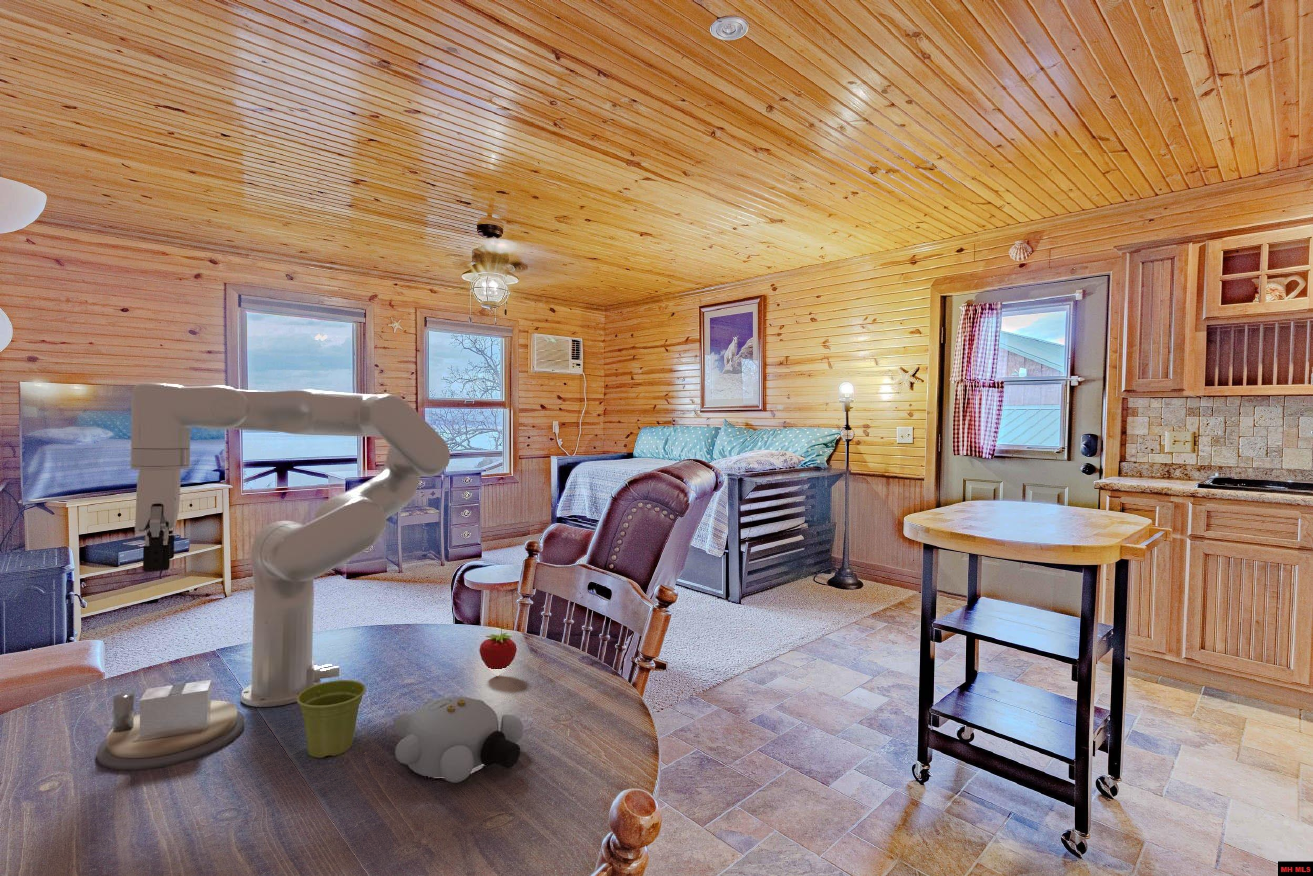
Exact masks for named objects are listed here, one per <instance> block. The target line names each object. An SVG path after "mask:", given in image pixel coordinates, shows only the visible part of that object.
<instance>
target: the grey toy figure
mask: <svg viewBox="0 0 1313 876" xmlns="http://www.w3.org/2000/svg"><path fill="white" fill-rule="evenodd" d="M394 719H395V720H394V721H393V725H392V730H393V732H394V733H395V735H396V736H398V737H400V738H401V740H400V741H399V742H398V743H397V744H396V746H395V748H394V751H395V752H394V754H395V758H396V760H397V761H398V762H400V763H401V764H405V765H407V766H408V768H409V769H410V770H412V771H413V772H414V773H416V774H418V775H420V776H423V777H426V776H428V777H427V778H430V777H444V778H445V779H444V780H445V781H447V782H449V783H460V782H462V781H464V780H466V779H467V778H468V777H469V776H470V775H469V774H470V773H471V771H472V769H473V768H475V767H477V766H479V765H481V764H484V765H486V766H485V767H488V766H489V767H490V766H493V765H494V764H495V765H498V766H500V767H501V768H504V769H507V770H510V769H512V768H514V767H515V766H516V764H517V762H518V760H519V759H520V755H521V746H520V745H519V744H517V743H518V742H519V741H520V740H521V739H522V736H523V732H524V726H523V725H524V724H523V722H522V720H521V719H520V718H519V717H518V716H516V715H513V714H503V715H502V716H501V722H500V730H499V720H498V716H497V713H496V712H495V710H494V709H493V708H492V707H491V706H490V705H488V704H487V703H486V702H485V701H484V700H481V699H476V698H472V697H467V696H458V695H457V696H447V697H441V698H439V699H432V700H428V701H426V702H424V703H423V705H422V706H421V707H419V708H417V709H416V710H415V711H414V712H413V714H411V713H401V714H399V715H398V716H397V717H395V718H394ZM492 764H493V765H492Z"/></svg>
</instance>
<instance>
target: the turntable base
mask: <svg viewBox="0 0 1313 876" xmlns="http://www.w3.org/2000/svg"><path fill="white" fill-rule="evenodd" d="M244 728H245V716H244V714H243V713H242V712H241V711H239V710H237V722H236V724H235V725H234V726H233V727H232V728H231V729H230V730H229V731H228V732H226V733H225V734H223V735H222V736H220V737H218V738H216V739H214V740H212V741H210V742H207V743H205V744H202V745H200V746H197V747H194V748H191V749H188V750H184V751H180V752H176V753H172V754H167V755H162V756H155V757H146V758H124V757H118V756H115V755H112V754H110V753H109V752H108V751H107V737H106V738H104V740H103V741H102V742H101V743H100V744H99V745H98V747H97V750H96V751H97V752H96V753H97V755H96V756H97V758H96V760H97V763H99V764H100V766H103V767H104V768H107V769H111V770H118V771H138V770H139V771H140V770H150V769H156V768H157V769H158V768H163V767H167V766H172V765H176V764H180V763H184V762H187V761H191V760H194V759H197V758H199V757H203V756H205V755H207V754H210V753H212V752H214V751H217V750H218V749H221V748H222V747H224V746H226V745H228V744H229V743H231V742H232V741H234V740H235V739H236V738H237V737H239V735H240V734H241V733H242V732H243V731H244Z"/></svg>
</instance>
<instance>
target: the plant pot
mask: <svg viewBox="0 0 1313 876" xmlns="http://www.w3.org/2000/svg"><path fill="white" fill-rule="evenodd" d="M366 691H367V687H366V685H365V684H364V683H363V682H361V681H359V680H358V681H357V680H352V679H349V680H348V679H339V680H332V681H325V682H321V683H320V684H317V685H314V686H311V687H309V688H307V689H305V690H303V691H302V692H301V693H299V695H298V696H297V702H296V703H297V704H298V705H299V707H300V711H301V713H302V719H303V725H304V733H305V739H306V740H305V741H306V750H307V751H306V752H307V754H308V755H309V756H310V757H313V758H318V759H319V758H320V759H322V758H325V757H326V756H333V757H335V756H339V755H342V754H343V753H345V752H347V751H349V749H350V748H351V747H352V745H353V744H354V743H353V742H354V737H355V731H356V725H357V720H358V714H359V708H360V704H361V703H362V700H363V696H364V694H365V693H366Z"/></svg>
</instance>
